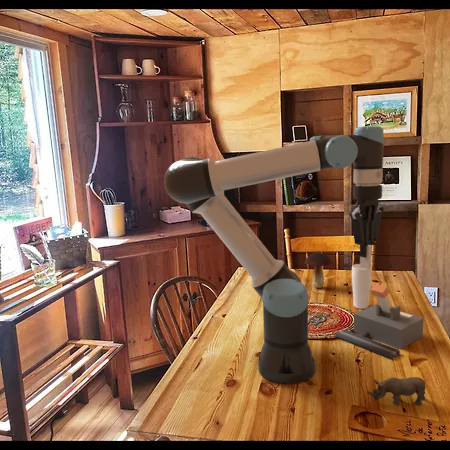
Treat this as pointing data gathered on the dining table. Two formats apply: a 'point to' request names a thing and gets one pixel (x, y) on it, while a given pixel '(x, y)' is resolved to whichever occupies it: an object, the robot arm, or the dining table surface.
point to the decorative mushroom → (318, 267)
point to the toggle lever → (382, 298)
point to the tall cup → (361, 286)
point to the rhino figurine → (400, 389)
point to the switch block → (389, 326)
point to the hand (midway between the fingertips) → (365, 267)
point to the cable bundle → (368, 343)
